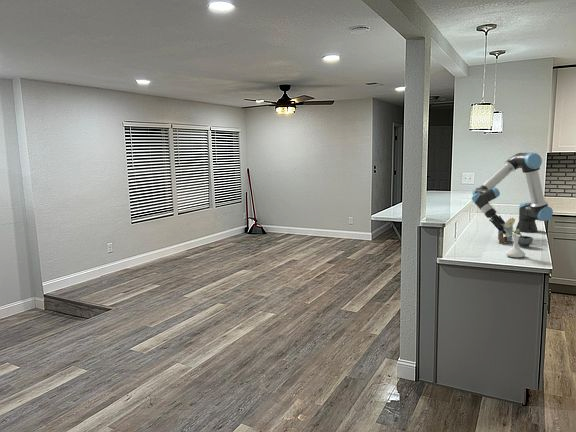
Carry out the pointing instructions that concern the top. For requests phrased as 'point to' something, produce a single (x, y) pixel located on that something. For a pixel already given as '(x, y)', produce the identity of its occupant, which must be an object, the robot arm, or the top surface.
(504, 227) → the slotted block
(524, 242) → the mortar and pestle
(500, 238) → the wooden drawer pull
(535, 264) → the top surface
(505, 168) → the robot arm
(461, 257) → the top surface
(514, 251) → the flower in vase
